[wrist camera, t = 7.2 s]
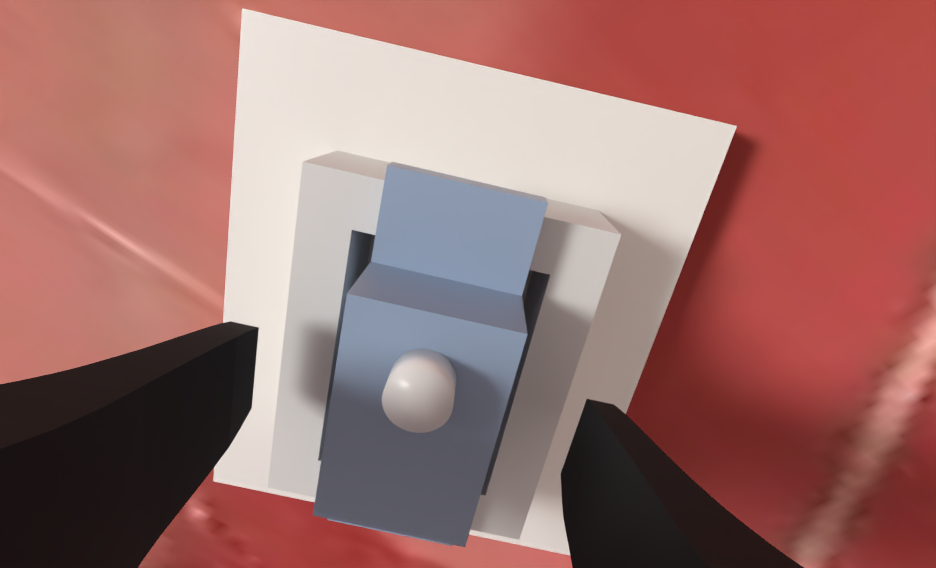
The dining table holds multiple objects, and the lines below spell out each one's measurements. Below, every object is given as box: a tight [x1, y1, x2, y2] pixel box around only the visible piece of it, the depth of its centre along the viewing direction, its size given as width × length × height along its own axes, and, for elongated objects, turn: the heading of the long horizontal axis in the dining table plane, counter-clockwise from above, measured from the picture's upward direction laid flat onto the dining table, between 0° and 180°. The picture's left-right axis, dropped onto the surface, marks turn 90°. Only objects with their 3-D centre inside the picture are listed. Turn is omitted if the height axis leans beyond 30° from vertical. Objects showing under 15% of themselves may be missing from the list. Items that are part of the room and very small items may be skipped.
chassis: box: [213, 8, 737, 555], centre depth 14 cm, size 14×12×4 cm
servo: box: [313, 162, 548, 547], centre depth 12 cm, size 9×3×6 cm, turn 167°
